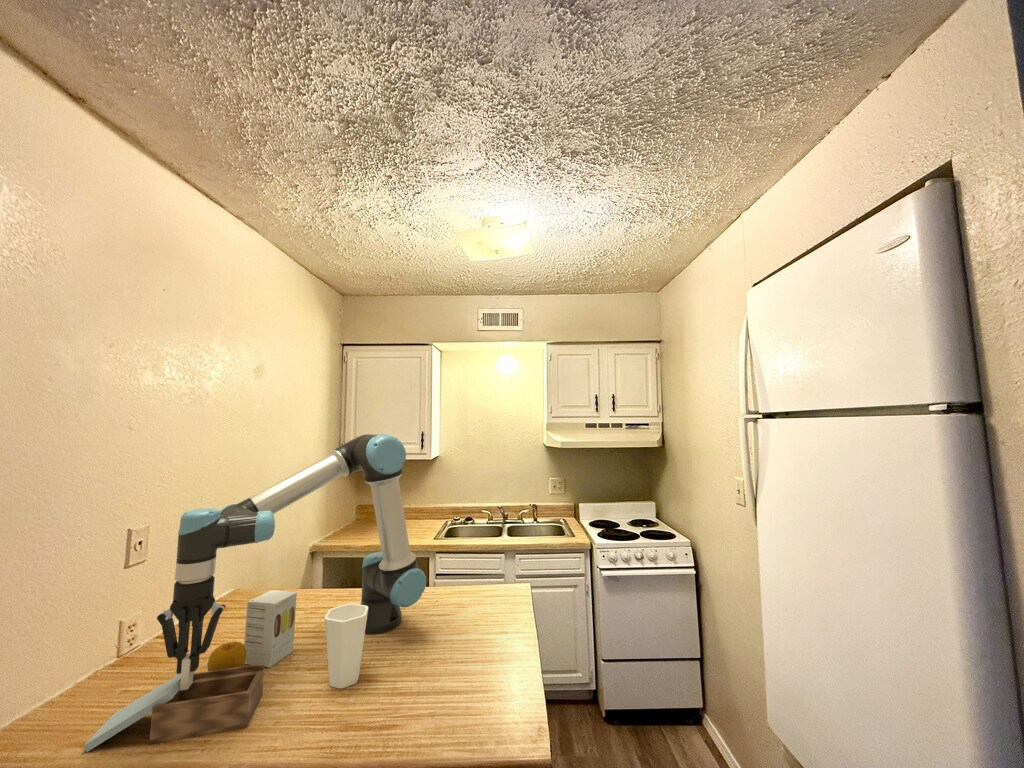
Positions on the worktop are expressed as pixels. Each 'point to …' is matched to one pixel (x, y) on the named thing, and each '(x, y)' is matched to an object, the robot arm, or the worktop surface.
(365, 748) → the worktop surface
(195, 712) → the box
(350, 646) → the cup
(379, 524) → the robot arm
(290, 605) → the supplement box
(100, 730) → the cover plate
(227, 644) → the apple
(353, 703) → the worktop surface
